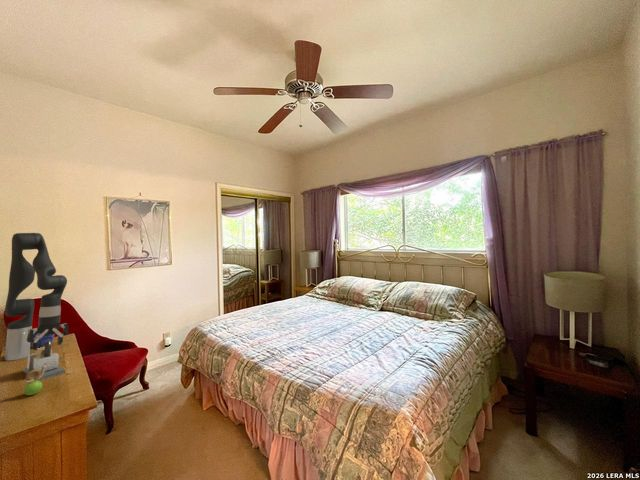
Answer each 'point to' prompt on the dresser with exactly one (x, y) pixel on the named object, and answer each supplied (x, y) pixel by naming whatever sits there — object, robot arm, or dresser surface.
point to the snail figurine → (34, 381)
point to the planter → (42, 339)
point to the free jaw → (47, 359)
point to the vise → (46, 373)
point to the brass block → (40, 352)
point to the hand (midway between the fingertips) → (47, 347)
